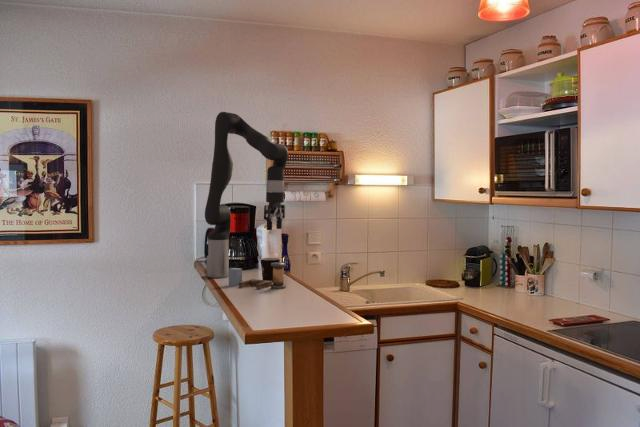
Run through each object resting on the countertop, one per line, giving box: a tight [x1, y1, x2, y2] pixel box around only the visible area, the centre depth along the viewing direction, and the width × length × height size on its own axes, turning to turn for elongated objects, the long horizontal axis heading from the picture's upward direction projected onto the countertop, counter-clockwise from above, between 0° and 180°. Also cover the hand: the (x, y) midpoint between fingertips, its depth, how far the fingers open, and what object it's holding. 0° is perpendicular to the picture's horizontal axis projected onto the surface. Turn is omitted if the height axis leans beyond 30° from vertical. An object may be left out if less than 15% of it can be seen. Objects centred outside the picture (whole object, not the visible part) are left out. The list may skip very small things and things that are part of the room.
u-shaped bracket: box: [238, 278, 273, 290], centre depth 222 cm, size 10×10×2 cm
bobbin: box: [270, 261, 287, 290], centre depth 220 cm, size 6×6×10 cm
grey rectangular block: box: [228, 267, 243, 287], centre depth 225 cm, size 4×4×7 cm
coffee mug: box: [260, 257, 281, 284], centre depth 237 cm, size 12×9×10 cm
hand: (274, 229), depth 227 cm, fingers open, 8 cm apart
